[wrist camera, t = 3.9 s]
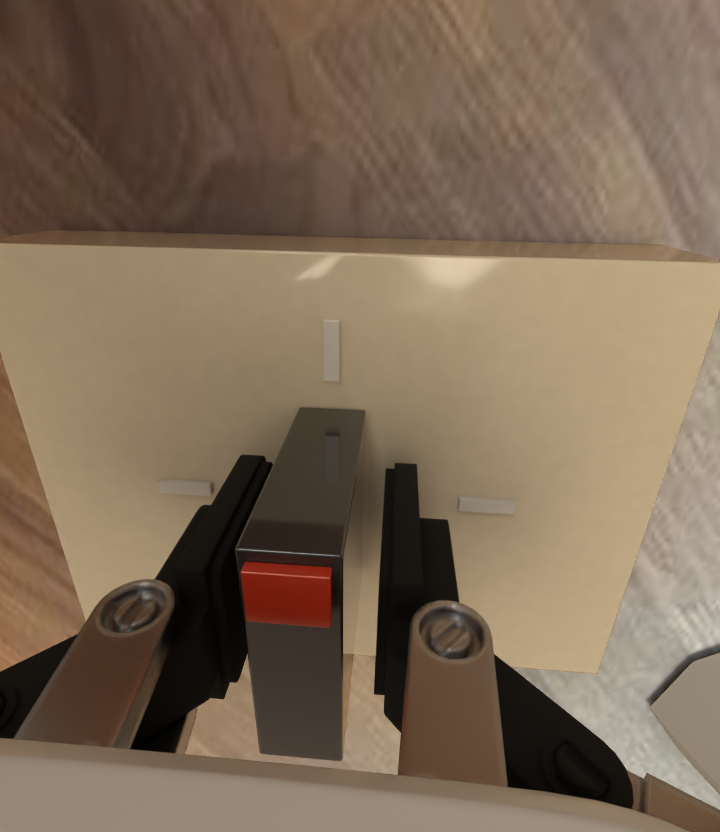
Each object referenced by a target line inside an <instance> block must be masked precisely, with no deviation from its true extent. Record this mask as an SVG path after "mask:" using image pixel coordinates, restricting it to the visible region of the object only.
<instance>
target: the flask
mask: <svg viewBox="0 0 720 832" xmlns="http://www.w3.org/2000/svg"><path fill="white" fill-rule="evenodd" d="M650 709H651V710H652V712H653V713H654V715H655V716H656V718H657V719H658V720H659V722H660V723H661V725H662V726H663V728H664V729H665V731H666V732H667V733H668V735H669V736H670V738H671V739H672V741H673V742H674V743H675V745H676V746H677V748H678V749H679V750H680V751H681V752H682V753H683V755H684V756H685V757H686V758H687V759H688V760H689V761H690V763H691V764H692V765H693V766H694V767H695V768H696V769H697V770H698V772H699V773H700V774H701V775H702V776H703V777H704V778H705V779H706V780H707V781H708V782H709V784H710V785H711V786H712V787H713V788H714V789H715V790H716V791H717V792H718V793H719V794H720V653H717V654H714V655H711V656H708V657H705V658H702V659H699V660H696V661H693V662H692V663H691V664H690V665H689V666H688V668H687V669H686V670H685V671H684V672H683V673H682V674H681V675H680V676H679V677H678V678H677V679H676V680H675V681H674V682H673V683H672V684H671V685H670V686H669V687H668V689H667V690H666V691H665V692H664V693H663V694H662V695H661V696H660V697H659V698H658V699H657V700H656V701H655V702H654V703H653V704H652V705H651V706H650Z"/></svg>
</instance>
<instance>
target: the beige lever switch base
mask: <svg viewBox="0 0 720 832" xmlns="http://www.w3.org/2000/svg"><path fill="white" fill-rule="evenodd" d="M719 313H720V259H716V258H712V257H708V256H704V255H699V254H695V253H691V252H687V251H683V250H679V249H675V248H671V247H667V246H663V245H629V244H589V243H550V242H510V241H470V240H431V239H391V238H351V237H311V236H272V235H232V234H192V233H152V232H113V231H73V230H50V231H43V232H36V233H29V234H22V235H15V236H8V237H1V238H0V354H1V357H2V360H3V363H4V366H5V369H6V373H7V376H8V379H9V382H10V385H11V388H12V391H13V395H14V398H15V401H16V404H17V407H18V410H19V413H20V417H21V420H22V423H23V426H24V429H25V432H26V435H27V439H28V442H29V445H30V448H31V451H32V454H33V457H34V461H35V464H36V467H37V470H38V473H39V476H40V479H41V483H42V486H43V489H44V492H45V495H46V498H47V501H48V504H49V508H50V511H51V514H52V517H53V520H54V523H55V526H56V530H57V533H58V536H59V539H60V542H61V545H62V548H63V552H64V555H65V558H66V561H67V564H68V567H69V570H70V574H71V577H72V580H73V583H74V586H75V589H76V592H77V596H78V599H79V602H80V605H81V608H82V611H83V614H84V618H85V621H87V619H88V617H89V616H90V614H91V613H92V611H93V609H94V608H95V606H96V605H97V604H98V603H99V602H100V600H101V599H102V598H103V597H104V596H106V595H107V594H108V593H109V592H111V591H112V590H114V589H115V588H117V587H119V586H121V585H123V584H126V583H129V582H132V581H136V580H143V579H153V580H154V579H155V578H156V576H157V574H158V573H159V571H160V570H161V568H162V566H163V565H164V563H165V562H166V560H167V558H168V557H169V555H170V554H171V552H172V550H173V549H174V547H175V546H176V544H177V542H178V541H179V539H180V537H181V536H182V534H183V533H184V531H185V529H186V528H187V526H188V525H189V523H190V521H191V520H192V518H193V517H194V515H195V513H196V512H197V510H198V509H199V508H200V506H202V505H211V504H212V502H213V501H214V499H215V497H216V496H217V494H218V492H219V491H220V489H221V487H222V485H223V484H224V482H225V480H226V479H227V477H228V475H229V474H230V472H231V470H232V469H233V467H234V465H235V463H236V462H237V460H238V458H239V457H240V456H241V455H261V456H265V459H266V462H272V463H273V464H274V462H275V460H276V458H277V456H278V453H279V451H280V449H281V447H282V445H283V442H284V440H285V438H286V436H287V434H288V431H289V429H290V427H291V425H292V423H293V420H294V418H295V416H296V414H297V412H298V409H299V408H300V407H306V408H327V409H348V410H364V411H365V412H366V433H365V475H364V518H363V560H362V579H361V588H360V598H359V608H358V617H357V627H356V637H355V647H354V655H367V656H376V639H377V616H378V593H379V573H380V556H381V539H382V522H383V505H384V488H385V471H386V468H392V469H394V465H395V463H409V464H417V475H418V494H419V514H420V518H431V519H447V520H448V523H449V529H450V536H451V543H452V551H453V558H454V566H455V573H456V580H457V588H458V595H459V603H462V604H464V605H466V606H468V607H470V608H472V609H474V610H475V611H476V612H477V613H479V614H480V615H481V616H482V617H483V618H484V620H485V621H486V623H487V624H488V626H489V628H490V631H491V635H492V640H493V650H494V654H495V655H496V656H498V657H499V658H500V659H501V660H503V661H504V662H505V663H506V664H508V665H509V666H510V667H518V668H531V669H543V670H556V671H568V672H581V673H594V674H596V673H598V670H599V667H600V664H601V661H602V658H603V655H604V652H605V650H606V647H607V644H608V641H609V638H610V635H611V632H612V629H613V626H614V623H615V620H616V617H617V614H618V611H619V608H620V605H621V602H622V599H623V596H624V593H625V590H626V588H627V585H628V582H629V579H630V576H631V573H632V570H633V567H634V564H635V561H636V558H637V555H638V552H639V549H640V546H641V543H642V540H643V537H644V534H645V531H646V529H647V526H648V523H649V520H650V517H651V514H652V511H653V508H654V505H655V502H656V499H657V496H658V493H659V490H660V487H661V484H662V481H663V478H664V475H665V472H666V469H667V467H668V464H669V461H670V458H671V455H672V452H673V449H674V446H675V443H676V440H677V437H678V434H679V431H680V428H681V425H682V422H683V419H684V416H685V413H686V410H687V407H688V405H689V402H690V399H691V396H692V393H693V390H694V387H695V384H696V381H697V378H698V375H699V372H700V369H701V366H702V363H703V360H704V357H705V354H706V351H707V348H708V345H709V343H710V340H711V337H712V334H713V331H714V328H715V325H716V322H717V319H718V316H719Z"/></svg>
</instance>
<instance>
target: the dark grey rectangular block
mask: <svg viewBox="0 0 720 832" xmlns="http://www.w3.org/2000/svg"><path fill="white" fill-rule="evenodd" d="M365 433H366V412H365V411H364V410H348V409H327V408H306V407H300V408H299V409H298V412H297V414H296V416H295V418H294V420H293V423H292V425H291V427H290V429H289V431H288V434H287V436H286V438H285V440H284V442H283V445H282V447H281V449H280V451H279V453H278V456H277V458H276V460H275V462H274V464H273V467H272V469H271V471H270V473H269V475H268V478H267V480H266V482H265V484H264V486H263V489H262V491H261V493H260V495H259V497H258V500H257V502H256V504H255V506H254V508H253V511H252V513H251V515H250V517H249V519H248V522H247V524H246V526H245V528H244V530H243V533H242V535H241V537H240V539H239V541H238V544H237V546H236V548H235V554H236V563H237V571H238V579H239V587H240V595H241V604H242V612H243V620H244V628H245V636H246V644H247V653H248V661H249V669H250V677H251V685H252V693H253V702H254V710H255V718H256V726H257V734H258V743H259V751H260V753H261V754H268V755H279V756H289V757H300V758H311V759H321V760H332V761H342V759H343V754H344V744H345V734H346V724H347V715H348V705H349V695H350V686H351V676H352V666H353V656H354V647H355V637H356V627H357V617H358V608H359V598H360V588H361V579H362V560H363V518H364V475H365Z"/></svg>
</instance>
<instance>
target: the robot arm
mask: <svg viewBox="0 0 720 832" xmlns="http://www.w3.org/2000/svg"><path fill="white" fill-rule="evenodd" d="M272 467H273V463H272V462H266V459H265V456H261V455H241V456H240V457H239V458H238V460H237V462H236V463H235V465H234V467H233V469H232V470H231V472H230V474H229V475H228V477H227V479H226V480H225V482H224V484H223V485H222V487H221V489H220V491H219V492H218V494H217V496H216V497H215V499H214V501H213V502H212V504H211V505H202V506H200V508H199V509H198V510H197V512H196V513H195V515H194V517H193V518H192V520H191V521H190V523H189V525H188V526H187V528H186V529H185V531H184V533H183V534H182V536H181V537H180V539H179V541H178V542H177V544H176V546H175V547H174V549H173V550H172V552H171V554H170V555H169V557H168V558H167V560H166V562H165V563H164V565H163V566H162V568H161V570H160V571H159V573H158V574H157V576H156V578H155V579H154V580H153V579H143V580H136V581H132V582H129V583H126V584H123V585H121V586H119V587H117V588H115V589H114V590H112V591H111V592H109V593H108V594H107V595H106V596H104V597H103V598H102V599H101V600H100V602H99V603H98V604H97V605H96V606H95V608H94V609H93V611H92V613H91V614H90V616H89V617H88V619H87V621H86V622H85V624H84V625H83V627H82V629H81V630H80V632H79V633H78V634H77V635H75V636H73V637H71V638H69V639H67V640H65V641H63V642H61V643H59V644H57V645H54V646H52V647H50V648H48V649H46V650H44V651H42V652H40V653H38V654H36V655H34V656H32V657H30V658H28V659H26V660H24V661H22V662H20V663H17V664H15V665H13V666H11V667H9V668H7V669H5V670H3V671H1V672H0V832H720V810H718V809H716V808H714V807H713V806H711V805H709V804H707V803H705V802H703V801H701V800H699V799H697V798H695V797H693V796H691V795H689V794H687V793H685V792H683V791H681V790H679V789H677V788H675V787H674V786H672V785H670V784H668V783H666V782H664V781H662V780H660V779H658V778H656V777H654V776H652V775H650V774H648V773H646V775H645V778H644V779H643V778H641V777H639V776H637V775H635V774H633V773H631V772H629V771H627V770H626V768H625V767H624V765H623V764H622V762H621V761H620V759H619V758H618V756H617V755H616V753H615V752H614V751H612V750H611V749H610V748H609V747H608V746H607V745H606V744H605V743H604V742H603V741H602V740H601V739H600V738H599V737H597V736H596V735H595V734H594V733H592V732H591V731H590V730H589V729H587V728H586V727H585V726H584V725H582V724H581V723H580V722H579V721H577V720H576V719H575V718H574V717H572V716H571V715H570V714H569V713H567V712H566V711H565V710H564V709H562V708H561V707H560V706H559V705H557V704H556V703H555V702H554V701H552V700H551V699H550V698H549V697H547V696H546V695H545V694H544V693H542V692H541V691H540V690H539V689H537V688H536V687H535V686H534V685H532V684H531V683H530V682H529V681H527V680H526V679H525V678H524V677H523V676H521V675H520V674H519V673H518V672H516V671H515V670H514V669H513V668H511V667H510V666H509V665H508V664H506V663H505V662H504V661H503V660H501V659H500V658H499V657H498V656H496V655H495V654H494V650H493V640H492V635H491V631H490V628H489V626H488V624H487V623H486V621H485V620H484V618H483V617H482V616H481V615H480V614H479V613H477V612H476V611H475V610H474V609H472V608H470V607H468V606H466V605H464V604H462V603H459V595H458V588H457V580H456V573H455V566H454V558H453V551H452V543H451V536H450V529H449V523H448V520H447V519H431V518H420V514H419V494H418V475H417V464H409V463H395V465H394V469H392V468H386V471H385V488H384V505H383V522H382V539H381V556H380V573H379V593H378V616H377V639H376V662H375V685H374V694H377V695H385V697H384V713H385V716H386V717H387V718H388V719H389V720H390V721H391V722H392V723H393V725H394V726H395V727H396V728H397V729H398V730H399V731H400V732H401V740H400V752H399V765H398V775H392V774H382V773H372V772H362V771H352V770H342V769H332V768H322V767H313V766H302V765H292V764H281V763H271V762H260V761H250V760H239V759H229V758H218V757H207V756H197V755H186V754H185V752H186V748H187V745H188V742H189V738H190V735H191V732H192V729H193V725H194V722H195V719H196V713H197V707H198V706H199V705H201V704H202V703H204V702H206V701H207V700H209V698H216V699H224V697H225V695H226V692H227V689H228V686H229V683H230V682H235V683H236V682H237V681H238V680H239V677H240V675H241V672H242V669H243V666H244V662H245V659H246V656H247V644H246V636H245V628H244V620H243V612H242V604H241V595H240V587H239V579H238V571H237V563H236V554H235V548H236V546H237V544H238V541H239V539H240V537H241V535H242V533H243V530H244V528H245V526H246V524H247V522H248V519H249V517H250V515H251V513H252V511H253V508H254V506H255V504H256V502H257V500H258V497H259V495H260V493H261V491H262V489H263V486H264V484H265V482H266V480H267V478H268V475H269V473H270V471H271V469H272Z"/></svg>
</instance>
